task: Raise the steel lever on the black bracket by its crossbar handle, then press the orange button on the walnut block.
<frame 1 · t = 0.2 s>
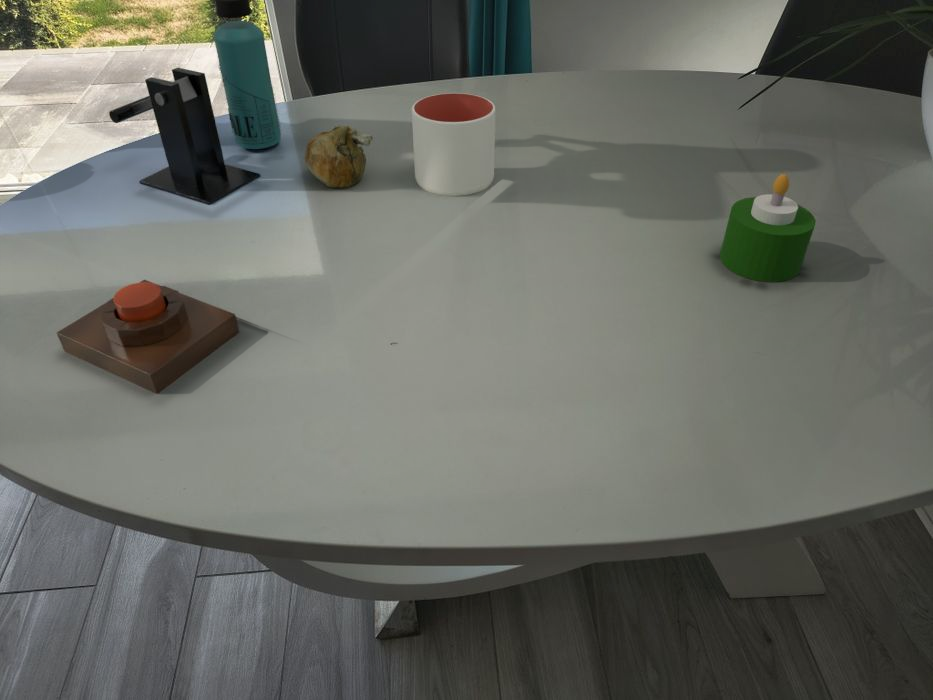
cup: (454, 185, 94), on the table
bracket: (202, 185, 93), on the table
candle: (759, 262, 79), on the table
beverage bottle: (260, 152, 102), on the table
button block: (153, 342, 68), on the table
button: (140, 302, 65), point 4 cm above the table, slide at 0.1 cm
onion: (339, 185, 94), on the table
lever: (156, 100, 89), point 10 cm above the table, hinge at -22.0°
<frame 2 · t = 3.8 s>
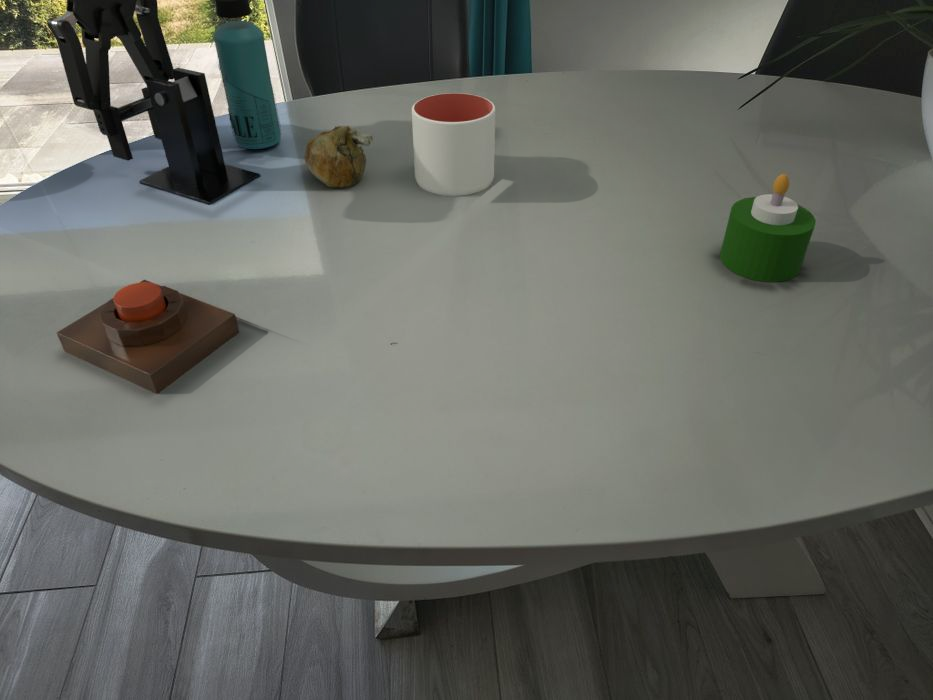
hand: (144, 147, 95), 3 cm above the table, tool pointing down, fingers closed on lever, 6 cm apart
lever: (156, 100, 89), point 10 cm above the table, hinge at -22.0°, touching gripper
everything else where it was.
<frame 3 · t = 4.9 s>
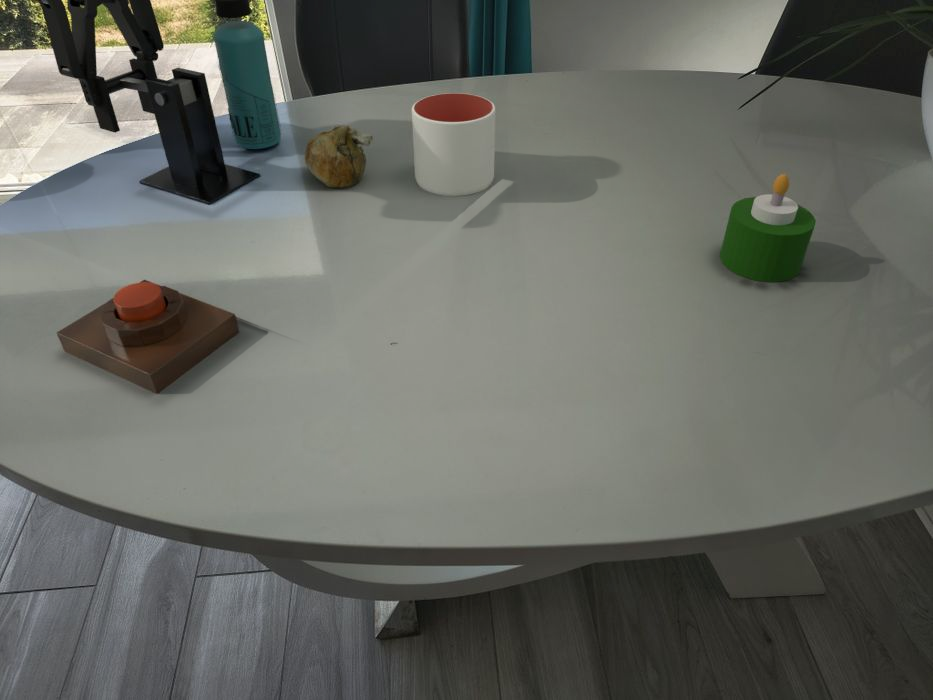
hand: (131, 120, 93), 7 cm above the table, tool pointing down, fingers closed on lever, 6 cm apart
lever: (151, 87, 88), point 12 cm above the table, hinge at -2.7°, touching gripper
everything else where it was.
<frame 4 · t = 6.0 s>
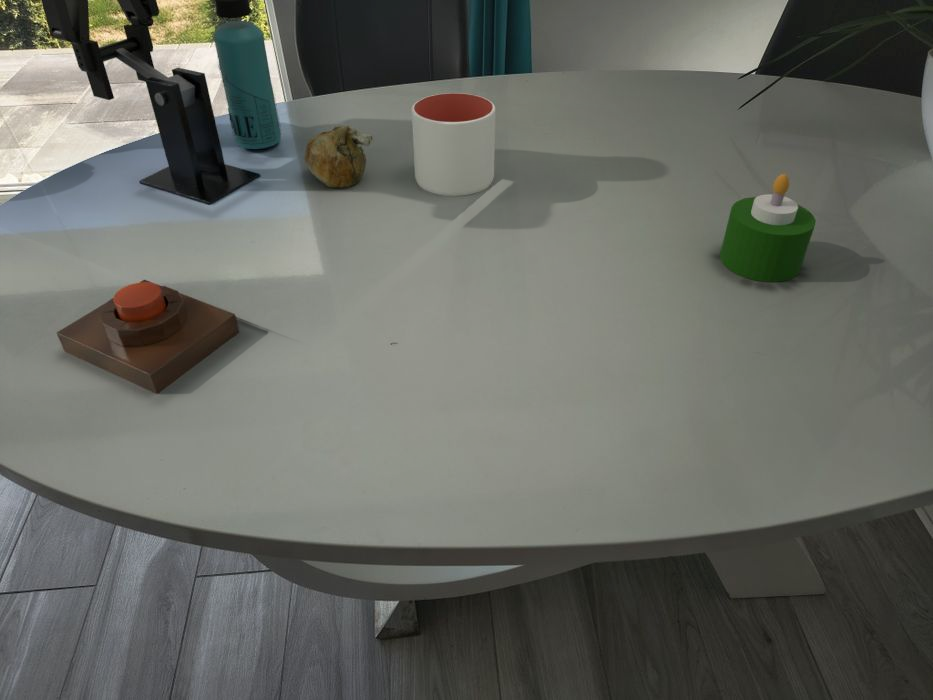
hand: (126, 88, 90), 11 cm above the table, tool pointing down, fingers closed on lever, 6 cm apart
lever: (148, 72, 87), point 14 cm above the table, hinge at 19.9°, touching gripper
everything else where it was.
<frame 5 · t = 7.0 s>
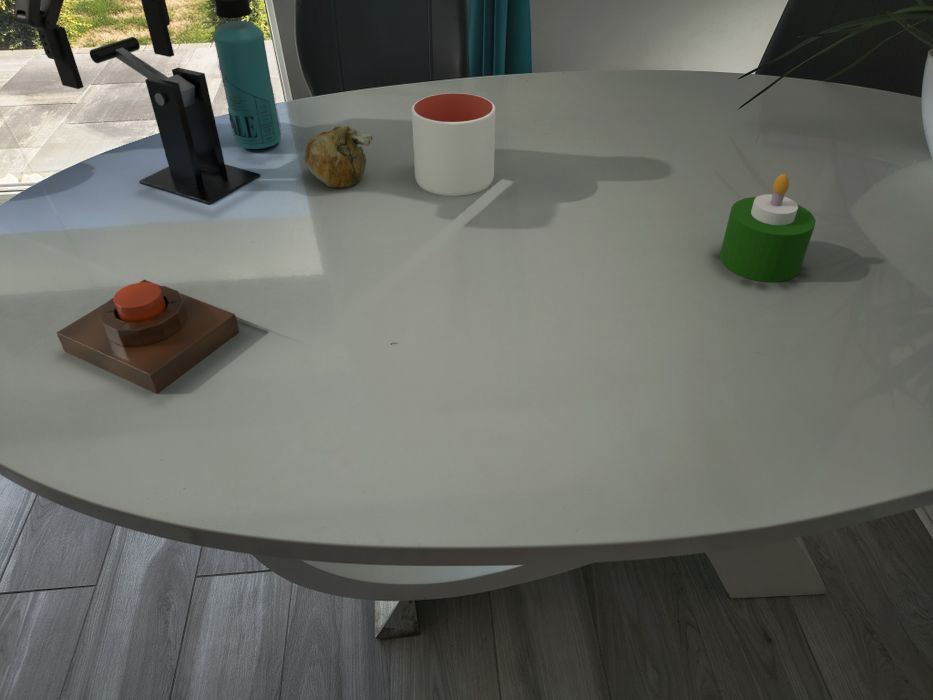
hand: (121, 70, 89), 13 cm above the table, tool pointing down, fingers open, 13 cm apart
lever: (148, 71, 87), point 14 cm above the table, hinge at 20.1°
everything else where it was.
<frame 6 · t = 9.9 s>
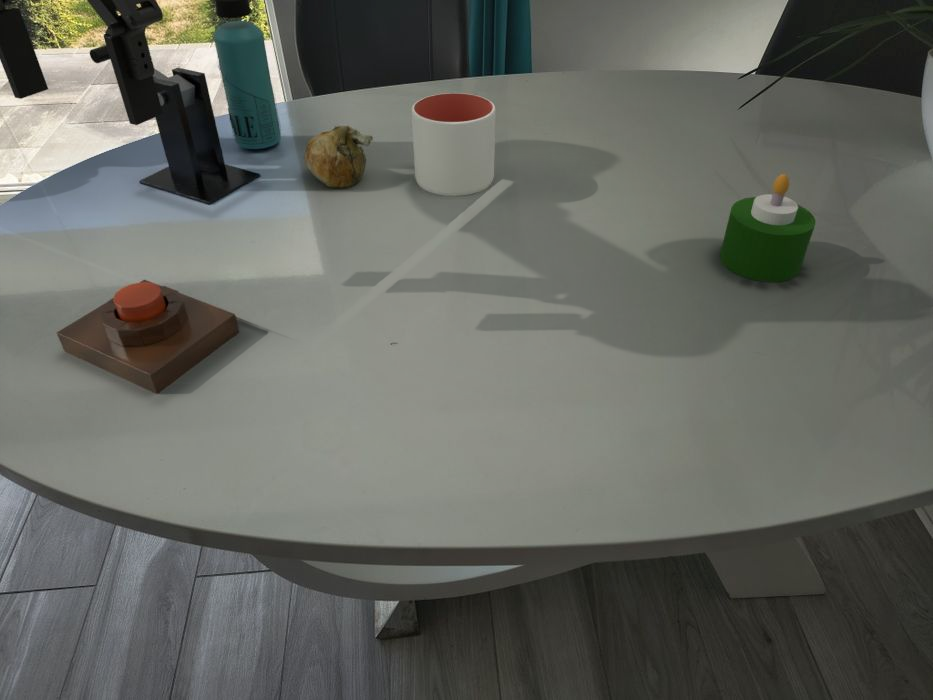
hand: (87, 106, 60), 20 cm above the table, tool pointing down, fingers open, 13 cm apart
nothing on the table moved.
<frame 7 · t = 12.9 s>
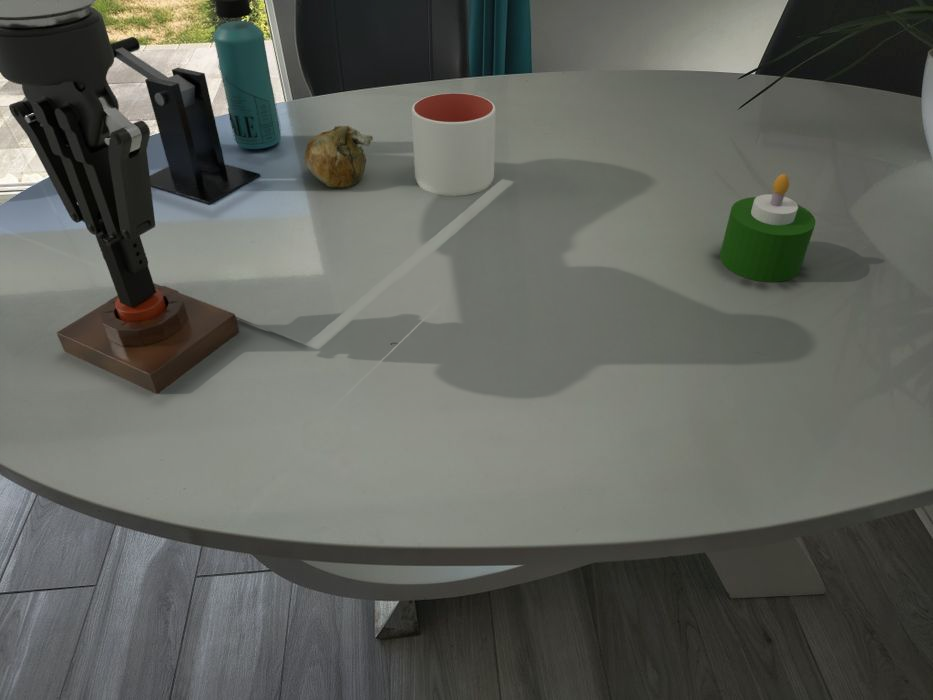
hand: (138, 297, 65), 5 cm above the table, tool pointing down, fingers closed
button: (141, 307, 66), point 4 cm above the table, slide at -0.4 cm, touching gripper
everything else where it was.
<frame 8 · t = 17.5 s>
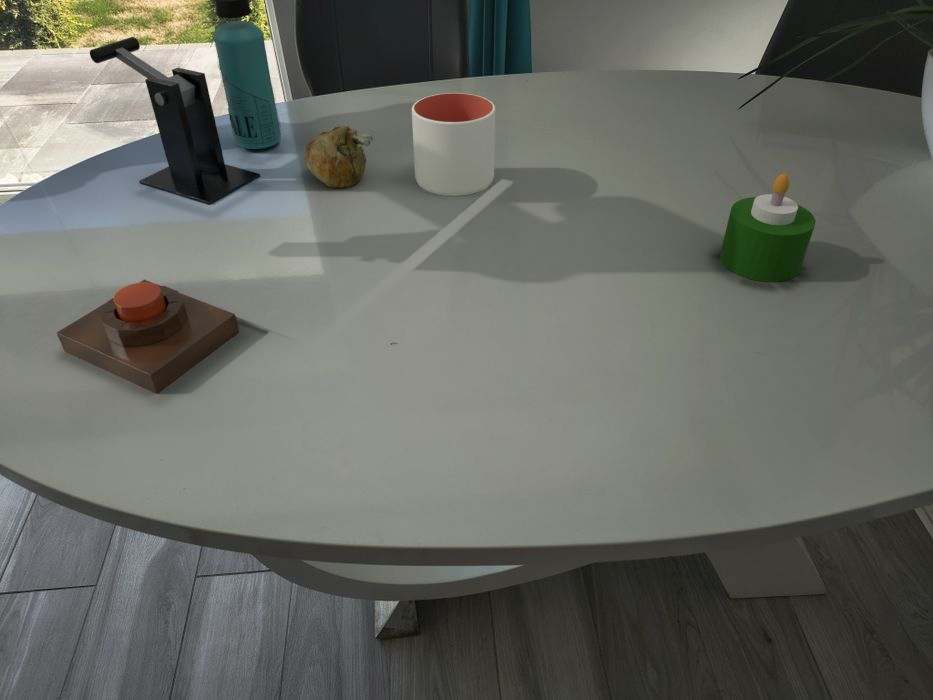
button: (140, 302, 65), point 4 cm above the table, slide at 0.1 cm
everything else where it was.
at the end: lever at +20° (first picture: -22°); button pushed in 1.0 cm at the most during the clip, back to where it started at the end; button slide at 0.1 cm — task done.
